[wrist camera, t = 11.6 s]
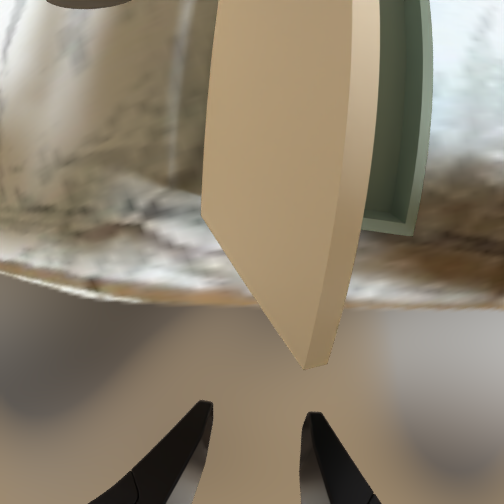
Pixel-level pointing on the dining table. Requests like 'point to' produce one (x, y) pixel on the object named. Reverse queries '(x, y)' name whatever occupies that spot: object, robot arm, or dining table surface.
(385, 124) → the carton
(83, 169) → the dining table surface
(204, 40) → the dining table surface
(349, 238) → the lid flap
